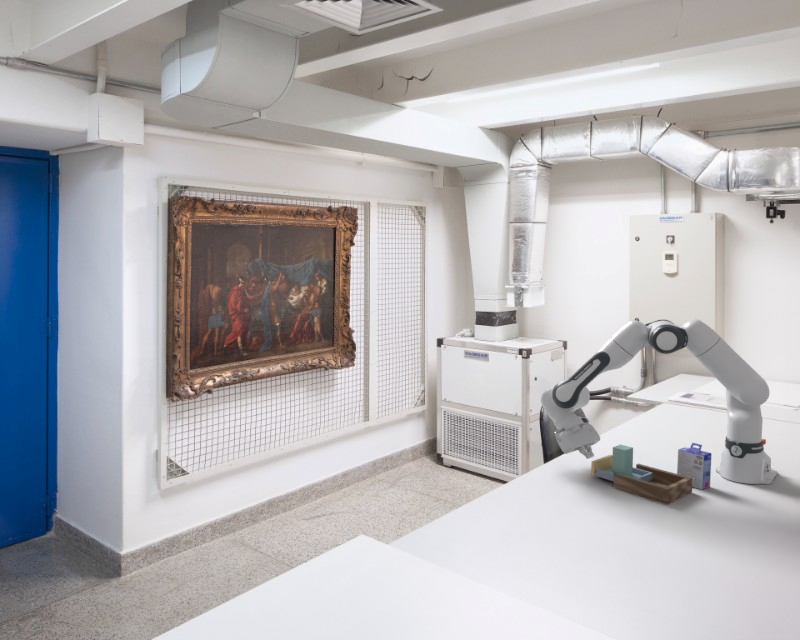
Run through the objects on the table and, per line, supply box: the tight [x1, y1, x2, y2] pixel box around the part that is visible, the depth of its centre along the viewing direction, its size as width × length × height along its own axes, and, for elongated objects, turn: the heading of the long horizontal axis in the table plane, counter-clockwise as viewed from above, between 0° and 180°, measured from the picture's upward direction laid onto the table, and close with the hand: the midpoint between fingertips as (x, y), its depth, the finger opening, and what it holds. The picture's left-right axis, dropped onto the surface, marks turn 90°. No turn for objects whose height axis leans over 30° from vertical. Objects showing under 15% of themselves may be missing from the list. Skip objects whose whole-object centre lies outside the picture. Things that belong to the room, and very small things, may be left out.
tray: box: [590, 454, 653, 482], centre depth 232 cm, size 12×17×5 cm
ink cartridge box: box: [676, 442, 712, 490], centre depth 227 cm, size 10×6×14 cm, turn 37°
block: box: [612, 444, 634, 476], centre depth 232 cm, size 5×5×10 cm
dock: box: [612, 463, 693, 505], centre depth 223 cm, size 16×20×5 cm
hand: (590, 457), depth 242 cm, fingers closed
